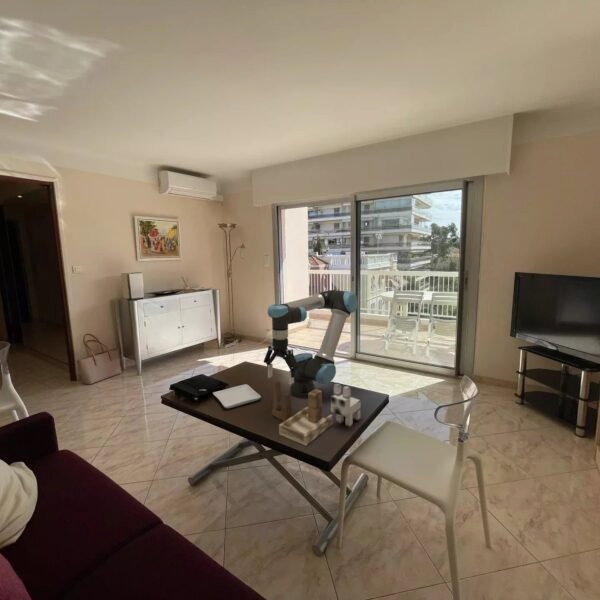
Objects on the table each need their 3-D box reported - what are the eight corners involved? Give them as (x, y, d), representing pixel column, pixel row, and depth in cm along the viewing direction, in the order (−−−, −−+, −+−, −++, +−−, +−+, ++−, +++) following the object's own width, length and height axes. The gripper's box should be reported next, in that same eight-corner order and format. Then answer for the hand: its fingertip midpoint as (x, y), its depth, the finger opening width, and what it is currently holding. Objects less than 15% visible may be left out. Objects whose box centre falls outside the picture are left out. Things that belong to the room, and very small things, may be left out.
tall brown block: (315, 415, 157) (315, 389, 155) (322, 418, 155) (322, 391, 153) (308, 420, 152) (308, 393, 151) (315, 423, 150) (315, 395, 148)
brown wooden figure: (286, 423, 154) (285, 387, 151) (272, 415, 161) (271, 381, 159) (291, 420, 156) (291, 385, 154) (277, 412, 164) (276, 379, 161)
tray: (307, 414, 162) (307, 406, 161) (332, 423, 153) (332, 415, 152) (279, 434, 144) (278, 425, 143) (305, 445, 135) (305, 436, 135)
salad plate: (225, 412, 165) (224, 406, 165) (212, 397, 183) (212, 391, 182) (262, 402, 177) (261, 396, 176) (246, 388, 194) (246, 383, 194)
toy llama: (362, 416, 159) (363, 378, 156) (344, 431, 146) (344, 390, 143) (349, 412, 164) (350, 375, 161) (330, 426, 150) (330, 386, 148)
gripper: (256, 335, 157) (256, 376, 160) (296, 343, 142) (296, 388, 145) (266, 332, 163) (267, 372, 166) (305, 340, 148) (305, 383, 151)
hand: (280, 380), depth 156 cm, fingers open, 13 cm apart
